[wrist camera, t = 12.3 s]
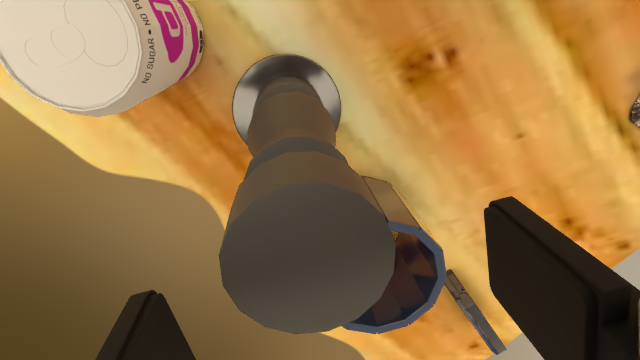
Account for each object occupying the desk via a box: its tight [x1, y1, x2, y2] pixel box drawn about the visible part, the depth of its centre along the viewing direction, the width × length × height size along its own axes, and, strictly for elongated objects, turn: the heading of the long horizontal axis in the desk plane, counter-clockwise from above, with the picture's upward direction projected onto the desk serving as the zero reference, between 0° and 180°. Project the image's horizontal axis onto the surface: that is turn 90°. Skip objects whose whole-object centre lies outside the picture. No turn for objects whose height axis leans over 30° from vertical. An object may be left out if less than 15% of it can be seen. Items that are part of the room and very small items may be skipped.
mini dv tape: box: [444, 270, 506, 354], centre depth 44 cm, size 8×2×6 cm, turn 35°
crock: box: [342, 176, 447, 334], centre depth 37 cm, size 11×11×10 cm
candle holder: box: [219, 76, 396, 334], centre depth 24 cm, size 6×6×25 cm
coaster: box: [232, 54, 341, 146], centre depth 36 cm, size 10×10×1 cm
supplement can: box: [0, 0, 204, 117], centre depth 26 cm, size 8×8×15 cm
